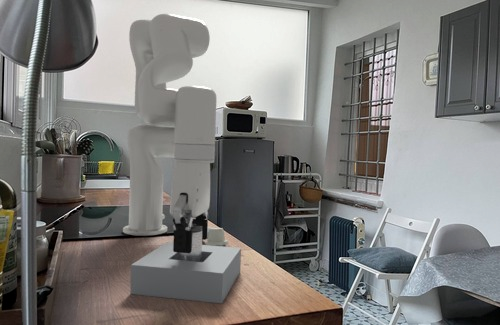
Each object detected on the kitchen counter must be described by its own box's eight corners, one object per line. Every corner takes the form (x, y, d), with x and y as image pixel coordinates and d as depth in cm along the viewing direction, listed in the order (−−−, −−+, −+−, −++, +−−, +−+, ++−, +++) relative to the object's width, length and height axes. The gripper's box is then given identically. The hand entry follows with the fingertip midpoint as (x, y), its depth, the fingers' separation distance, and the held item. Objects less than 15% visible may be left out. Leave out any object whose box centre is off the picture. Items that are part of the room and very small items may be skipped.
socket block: (166, 265, 78) (167, 242, 78) (240, 272, 76) (241, 247, 76) (130, 293, 63) (131, 264, 62) (221, 303, 60) (222, 273, 60)
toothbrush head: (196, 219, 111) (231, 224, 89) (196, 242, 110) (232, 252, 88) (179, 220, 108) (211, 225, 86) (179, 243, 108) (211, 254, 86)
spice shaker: (184, 269, 72) (185, 223, 71) (204, 270, 71) (204, 224, 71) (176, 276, 68) (177, 227, 67) (197, 278, 67) (198, 229, 67)
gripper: (190, 153, 77) (187, 233, 78) (156, 154, 60) (153, 256, 61) (224, 154, 76) (221, 236, 77) (199, 156, 59) (196, 260, 60)
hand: (191, 245), depth 69 cm, fingers open, 9 cm apart
